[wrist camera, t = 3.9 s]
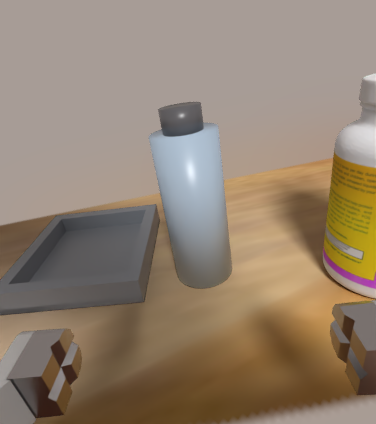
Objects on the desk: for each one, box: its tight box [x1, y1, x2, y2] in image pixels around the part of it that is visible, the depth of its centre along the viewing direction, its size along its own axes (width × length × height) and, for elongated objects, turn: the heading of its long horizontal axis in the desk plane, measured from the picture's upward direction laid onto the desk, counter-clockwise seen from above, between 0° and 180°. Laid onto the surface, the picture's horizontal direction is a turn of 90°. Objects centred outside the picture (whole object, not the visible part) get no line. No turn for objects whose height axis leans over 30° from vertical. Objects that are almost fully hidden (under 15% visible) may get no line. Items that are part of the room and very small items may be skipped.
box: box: [0, 204, 160, 315], centre depth 26 cm, size 11×12×2 cm
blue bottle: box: [149, 102, 232, 288], centre depth 20 cm, size 4×4×12 cm
